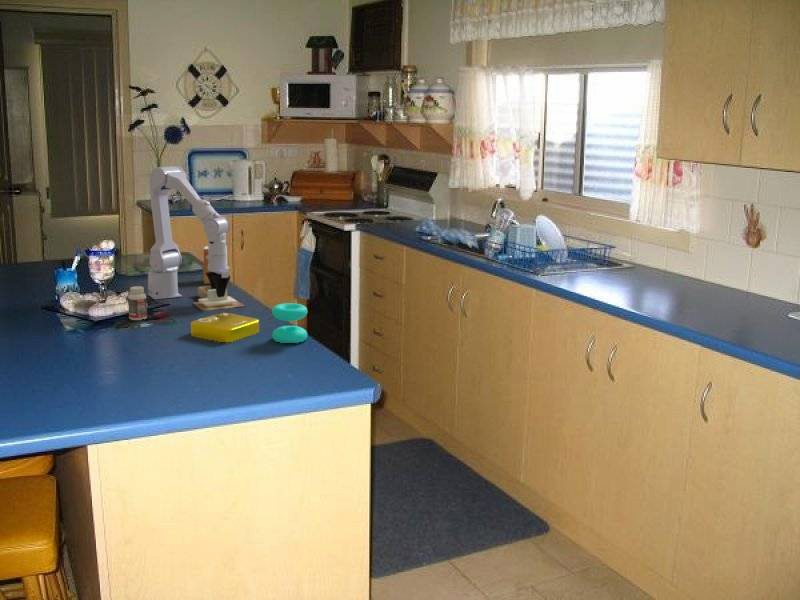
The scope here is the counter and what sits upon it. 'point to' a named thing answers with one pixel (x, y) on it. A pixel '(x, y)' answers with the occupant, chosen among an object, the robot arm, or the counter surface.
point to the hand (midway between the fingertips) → (218, 295)
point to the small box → (206, 262)
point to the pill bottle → (137, 303)
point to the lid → (217, 299)
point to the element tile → (224, 327)
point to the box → (204, 291)
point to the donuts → (289, 314)
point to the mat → (205, 308)
